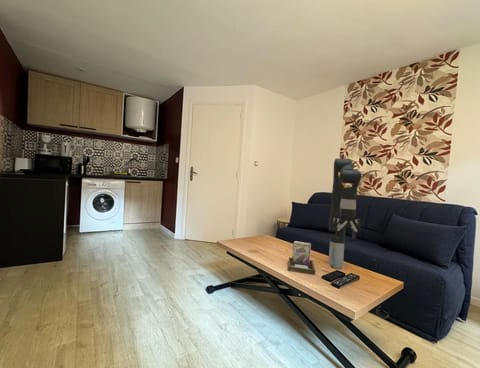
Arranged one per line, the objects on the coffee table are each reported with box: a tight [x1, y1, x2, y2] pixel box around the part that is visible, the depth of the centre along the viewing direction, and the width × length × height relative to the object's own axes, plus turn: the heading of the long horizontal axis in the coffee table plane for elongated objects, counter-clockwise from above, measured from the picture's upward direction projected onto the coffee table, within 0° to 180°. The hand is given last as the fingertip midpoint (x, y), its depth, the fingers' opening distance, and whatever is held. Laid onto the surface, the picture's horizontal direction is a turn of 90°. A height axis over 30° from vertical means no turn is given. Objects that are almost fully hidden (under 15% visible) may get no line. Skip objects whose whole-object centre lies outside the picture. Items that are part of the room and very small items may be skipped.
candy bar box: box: [291, 240, 312, 264], centre depth 154 cm, size 11×5×16 cm, turn 65°
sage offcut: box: [294, 264, 309, 269], centre depth 145 cm, size 6×8×2 cm
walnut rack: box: [287, 257, 316, 276], centre depth 149 cm, size 19×16×4 cm
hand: (345, 238), depth 122 cm, fingers open, 8 cm apart
